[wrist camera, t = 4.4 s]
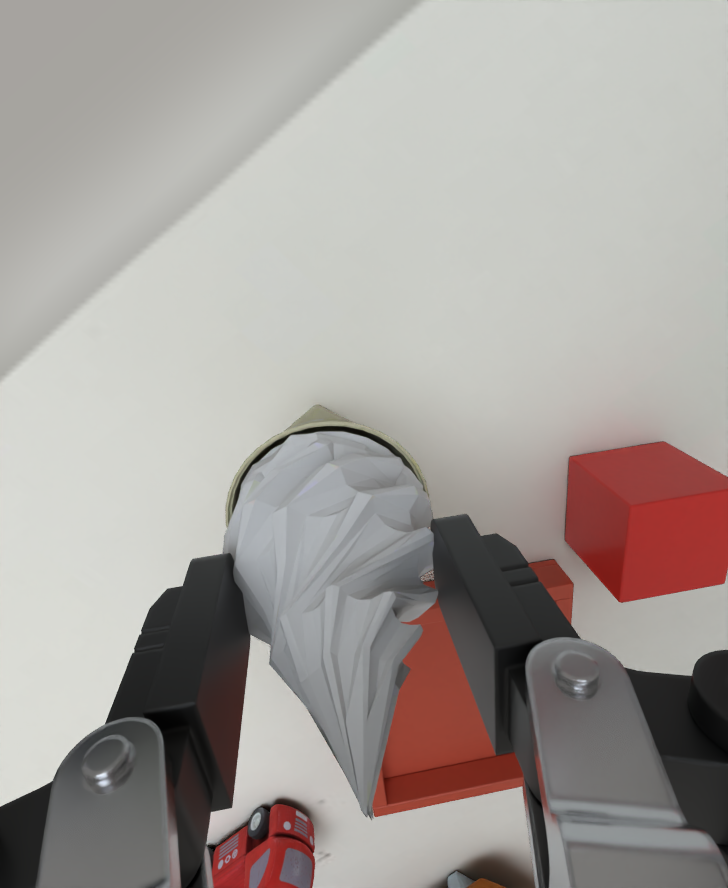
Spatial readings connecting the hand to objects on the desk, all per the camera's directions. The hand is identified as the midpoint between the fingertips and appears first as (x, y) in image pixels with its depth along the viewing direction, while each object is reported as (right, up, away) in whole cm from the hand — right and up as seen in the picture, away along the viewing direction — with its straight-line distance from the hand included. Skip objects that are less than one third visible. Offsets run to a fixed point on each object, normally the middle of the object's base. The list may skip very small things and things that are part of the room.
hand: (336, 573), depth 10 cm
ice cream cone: (-1, +4, +10) cm, 10 cm away
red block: (+12, 0, +13) cm, 18 cm away
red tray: (+5, -10, +16) cm, 20 cm away
